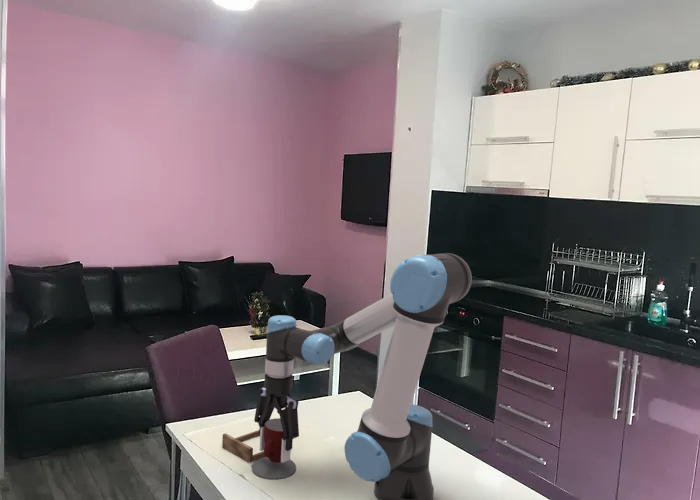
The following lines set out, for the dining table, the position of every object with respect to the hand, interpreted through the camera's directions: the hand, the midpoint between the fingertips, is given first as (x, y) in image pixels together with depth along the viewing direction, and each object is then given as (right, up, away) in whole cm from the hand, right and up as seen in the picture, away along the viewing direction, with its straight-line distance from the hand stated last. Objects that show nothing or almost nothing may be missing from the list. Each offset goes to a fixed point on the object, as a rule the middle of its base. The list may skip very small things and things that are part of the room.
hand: (274, 454), depth 156 cm
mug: (0, -2, 0) cm, 2 cm away
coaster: (0, -4, 0) cm, 4 cm away
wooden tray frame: (-7, -2, +13) cm, 14 cm away
